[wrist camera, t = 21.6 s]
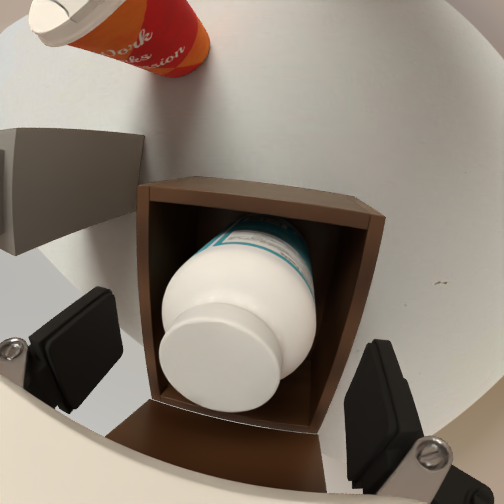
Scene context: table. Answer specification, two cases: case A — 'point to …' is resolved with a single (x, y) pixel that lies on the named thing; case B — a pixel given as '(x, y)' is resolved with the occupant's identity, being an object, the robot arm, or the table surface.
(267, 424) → the chest
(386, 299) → the table surface
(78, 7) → the paper cup
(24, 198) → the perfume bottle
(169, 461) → the chest lid
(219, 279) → the pill bottle
